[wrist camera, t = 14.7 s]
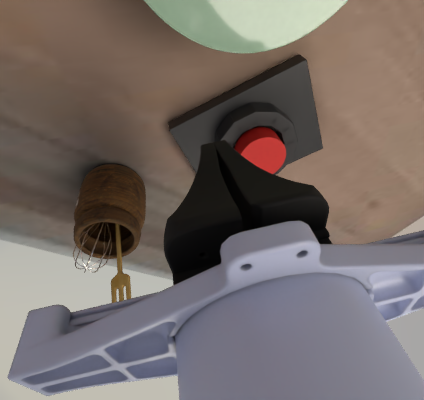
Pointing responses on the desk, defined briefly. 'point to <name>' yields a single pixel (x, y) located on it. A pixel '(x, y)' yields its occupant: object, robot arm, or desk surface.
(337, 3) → the lid
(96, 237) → the utensil holder
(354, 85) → the desk surface
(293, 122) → the button box
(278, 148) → the button
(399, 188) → the desk surface
